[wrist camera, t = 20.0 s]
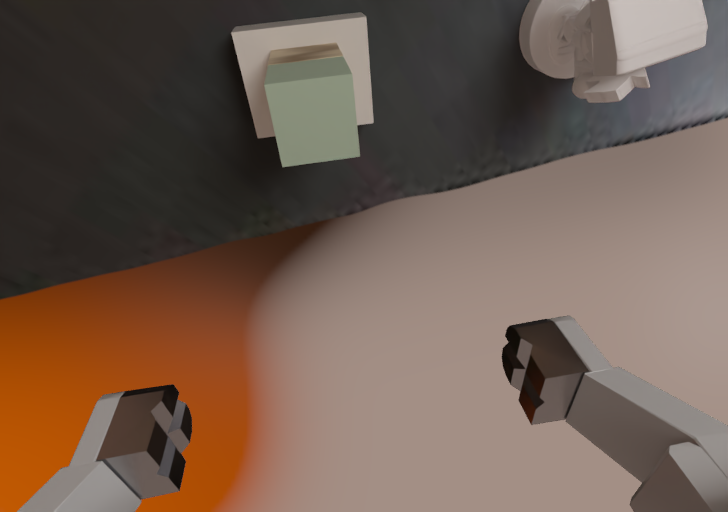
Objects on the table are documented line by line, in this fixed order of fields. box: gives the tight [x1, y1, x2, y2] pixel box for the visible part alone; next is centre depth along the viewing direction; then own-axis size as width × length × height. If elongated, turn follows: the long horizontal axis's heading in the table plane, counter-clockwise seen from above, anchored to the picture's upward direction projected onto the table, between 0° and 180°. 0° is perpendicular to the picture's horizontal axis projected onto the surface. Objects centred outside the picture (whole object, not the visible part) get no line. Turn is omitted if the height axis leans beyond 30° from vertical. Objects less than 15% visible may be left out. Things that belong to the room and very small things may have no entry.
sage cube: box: [264, 56, 360, 167], centre depth 26 cm, size 5×5×5 cm
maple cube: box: [268, 43, 343, 65], centre depth 30 cm, size 5×5×5 cm
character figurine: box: [519, 0, 708, 103], centre depth 30 cm, size 9×10×12 cm
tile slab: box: [231, 12, 374, 138], centre depth 33 cm, size 10×8×3 cm
